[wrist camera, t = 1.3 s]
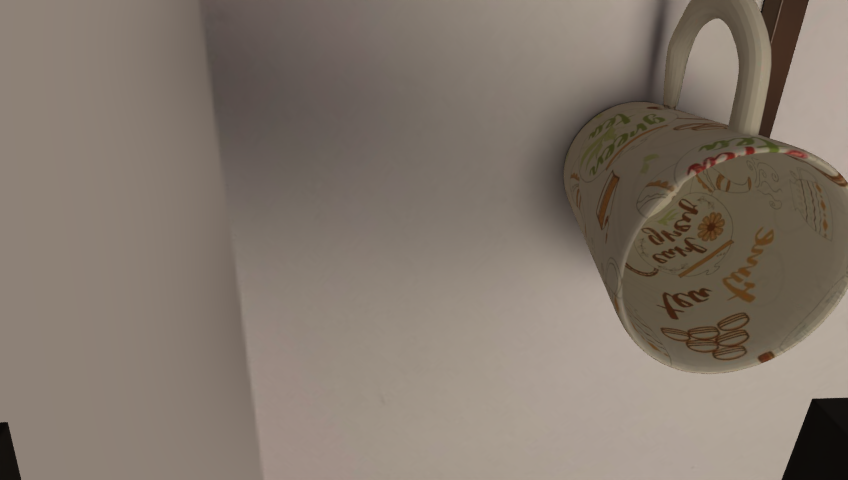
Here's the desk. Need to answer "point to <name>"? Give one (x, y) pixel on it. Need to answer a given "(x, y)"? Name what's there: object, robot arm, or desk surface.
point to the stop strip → (780, 51)
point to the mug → (710, 215)
